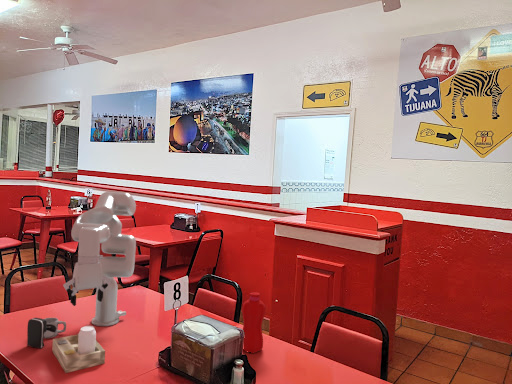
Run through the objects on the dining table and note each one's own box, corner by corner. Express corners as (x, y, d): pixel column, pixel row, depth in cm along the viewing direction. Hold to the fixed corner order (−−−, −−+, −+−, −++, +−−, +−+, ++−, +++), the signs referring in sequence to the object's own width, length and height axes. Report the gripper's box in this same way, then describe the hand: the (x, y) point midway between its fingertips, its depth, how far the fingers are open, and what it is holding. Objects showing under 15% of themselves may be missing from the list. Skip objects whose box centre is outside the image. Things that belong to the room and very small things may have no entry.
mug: (39, 339, 173) (40, 323, 172) (41, 332, 179) (41, 318, 179) (65, 337, 177) (66, 322, 176) (66, 330, 183) (67, 316, 182)
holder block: (88, 343, 172) (88, 331, 171) (104, 363, 156) (105, 350, 156) (52, 351, 163) (52, 338, 163) (65, 373, 147) (66, 358, 147)
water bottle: (248, 341, 186) (252, 287, 184) (265, 350, 178) (269, 294, 176) (233, 346, 179) (237, 290, 178) (250, 355, 171) (254, 297, 170)
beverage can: (97, 359, 157) (98, 329, 156) (81, 364, 153) (82, 333, 152) (90, 353, 161) (92, 323, 161) (74, 357, 157) (76, 327, 156)
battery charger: (47, 345, 167) (48, 318, 167) (40, 349, 164) (41, 321, 163) (33, 342, 169) (34, 315, 169) (26, 346, 166) (27, 318, 165)
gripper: (107, 255, 164) (105, 296, 166) (61, 259, 153) (60, 303, 155) (114, 259, 159) (112, 302, 160) (67, 264, 148) (65, 309, 149)
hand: (86, 302), depth 157 cm, fingers open, 9 cm apart
